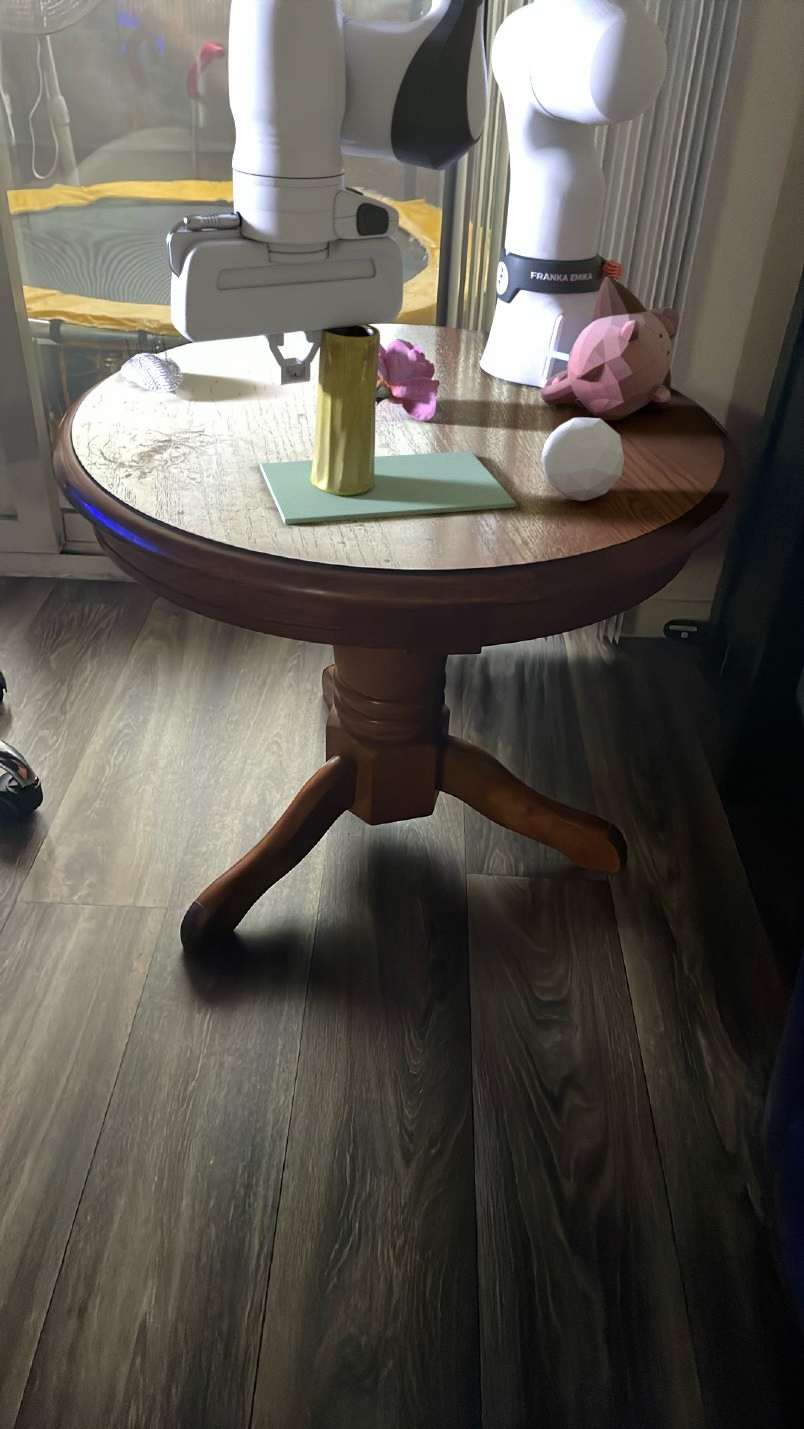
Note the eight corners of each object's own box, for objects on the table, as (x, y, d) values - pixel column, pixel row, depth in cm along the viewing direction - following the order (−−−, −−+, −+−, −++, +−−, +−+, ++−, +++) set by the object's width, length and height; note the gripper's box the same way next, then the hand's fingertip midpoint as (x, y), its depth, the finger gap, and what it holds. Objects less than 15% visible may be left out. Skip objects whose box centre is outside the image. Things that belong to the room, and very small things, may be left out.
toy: (598, 312, 105) (671, 242, 111) (494, 345, 117) (565, 280, 123) (661, 451, 112) (726, 378, 119) (558, 469, 125) (621, 401, 131)
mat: (470, 455, 107) (470, 450, 107) (515, 507, 97) (515, 502, 96) (260, 468, 101) (259, 463, 101) (284, 524, 91) (284, 519, 91)
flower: (402, 420, 124) (456, 354, 119) (406, 458, 116) (464, 390, 111) (325, 363, 119) (378, 293, 114) (324, 399, 111) (380, 325, 106)
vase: (356, 501, 94) (366, 343, 86) (298, 486, 96) (302, 329, 88) (385, 480, 99) (396, 328, 91) (329, 466, 101) (335, 315, 93)
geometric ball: (559, 513, 103) (560, 434, 103) (636, 504, 98) (637, 421, 99) (526, 497, 96) (527, 413, 97) (608, 487, 92) (608, 398, 92)
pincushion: (198, 392, 117) (189, 342, 113) (148, 405, 114) (136, 354, 111) (159, 364, 125) (149, 317, 122) (111, 376, 123) (100, 328, 119)
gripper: (179, 224, 76) (192, 408, 84) (416, 211, 85) (407, 379, 93) (151, 208, 80) (166, 384, 88) (379, 198, 89) (374, 359, 97)
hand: (291, 381), depth 91 cm, fingers closed
